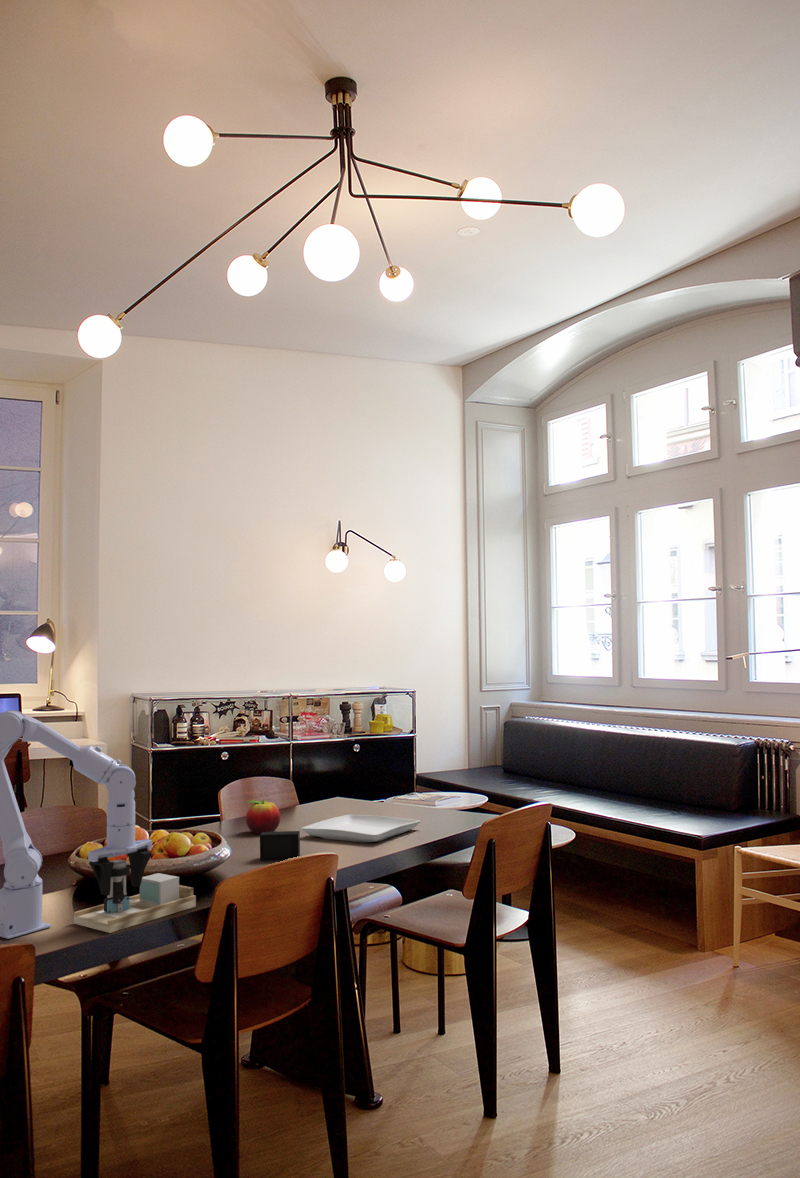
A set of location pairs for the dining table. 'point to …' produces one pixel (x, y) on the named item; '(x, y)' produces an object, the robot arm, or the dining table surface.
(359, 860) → the dining table surface
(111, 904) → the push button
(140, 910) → the beige tray
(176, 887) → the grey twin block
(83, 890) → the dining table surface
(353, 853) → the dining table surface
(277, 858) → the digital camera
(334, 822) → the square plate
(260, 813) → the fruit
